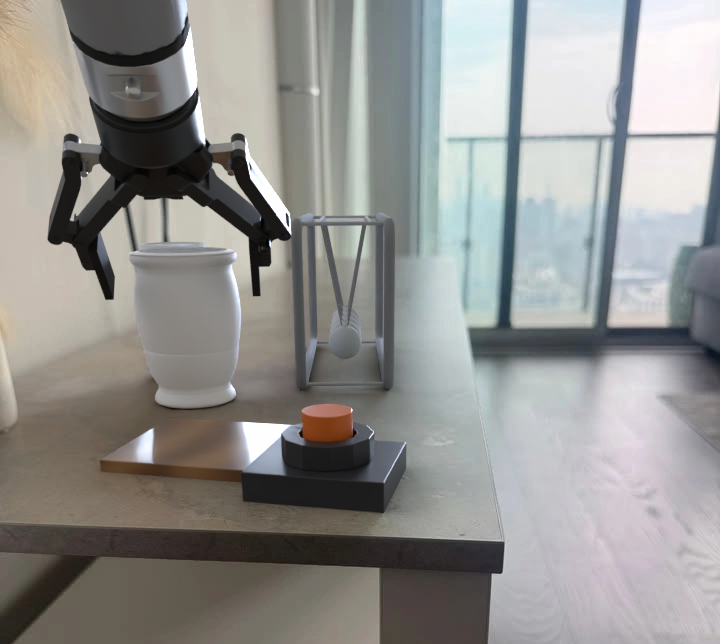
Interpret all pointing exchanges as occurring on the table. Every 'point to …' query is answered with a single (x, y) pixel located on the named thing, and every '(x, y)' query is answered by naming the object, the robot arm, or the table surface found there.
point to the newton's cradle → (345, 318)
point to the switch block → (326, 471)
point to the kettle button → (327, 422)
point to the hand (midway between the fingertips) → (184, 286)
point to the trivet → (194, 449)
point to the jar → (188, 323)
